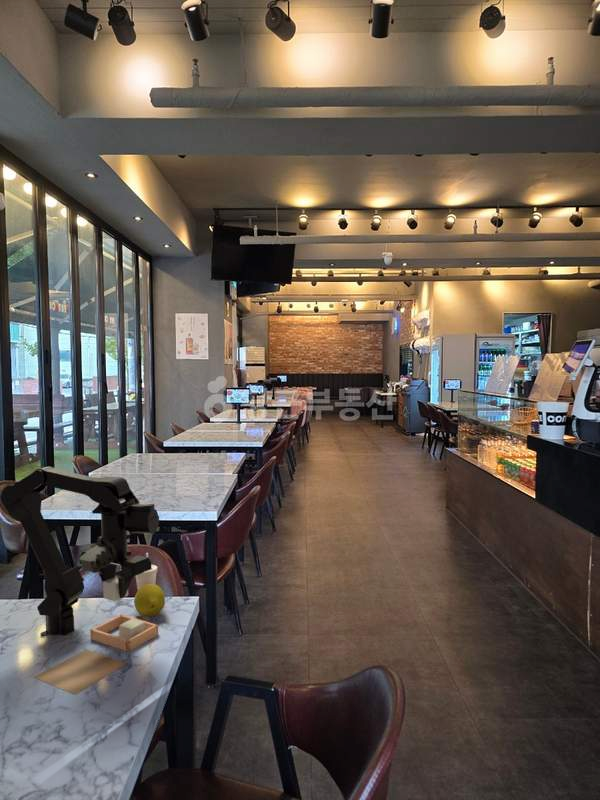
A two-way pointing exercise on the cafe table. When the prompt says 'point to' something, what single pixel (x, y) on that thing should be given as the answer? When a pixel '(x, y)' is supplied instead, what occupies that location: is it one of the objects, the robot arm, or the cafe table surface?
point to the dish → (118, 642)
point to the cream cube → (130, 629)
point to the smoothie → (146, 576)
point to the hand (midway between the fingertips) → (115, 595)
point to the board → (80, 671)
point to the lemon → (149, 600)
